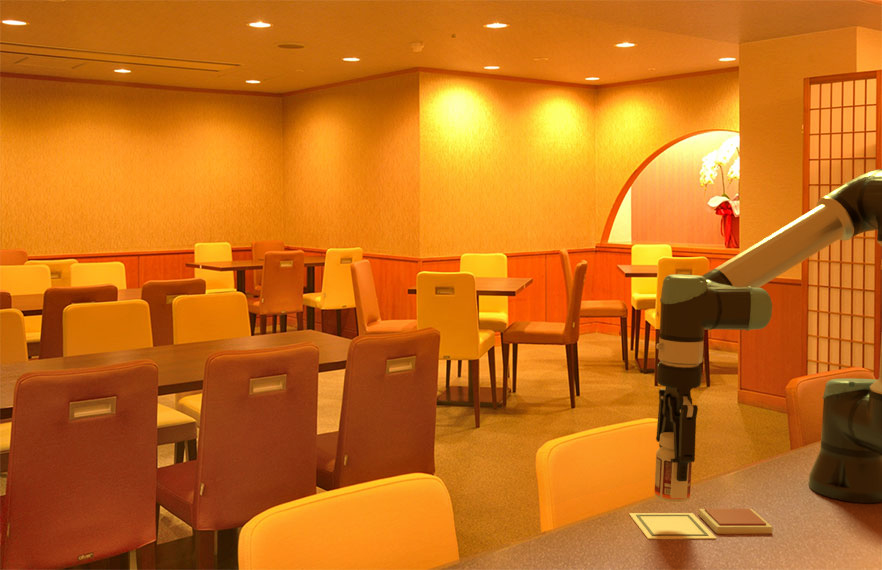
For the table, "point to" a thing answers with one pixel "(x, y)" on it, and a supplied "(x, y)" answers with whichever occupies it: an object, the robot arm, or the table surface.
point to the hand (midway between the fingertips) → (672, 490)
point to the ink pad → (735, 521)
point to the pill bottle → (667, 469)
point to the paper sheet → (671, 526)
